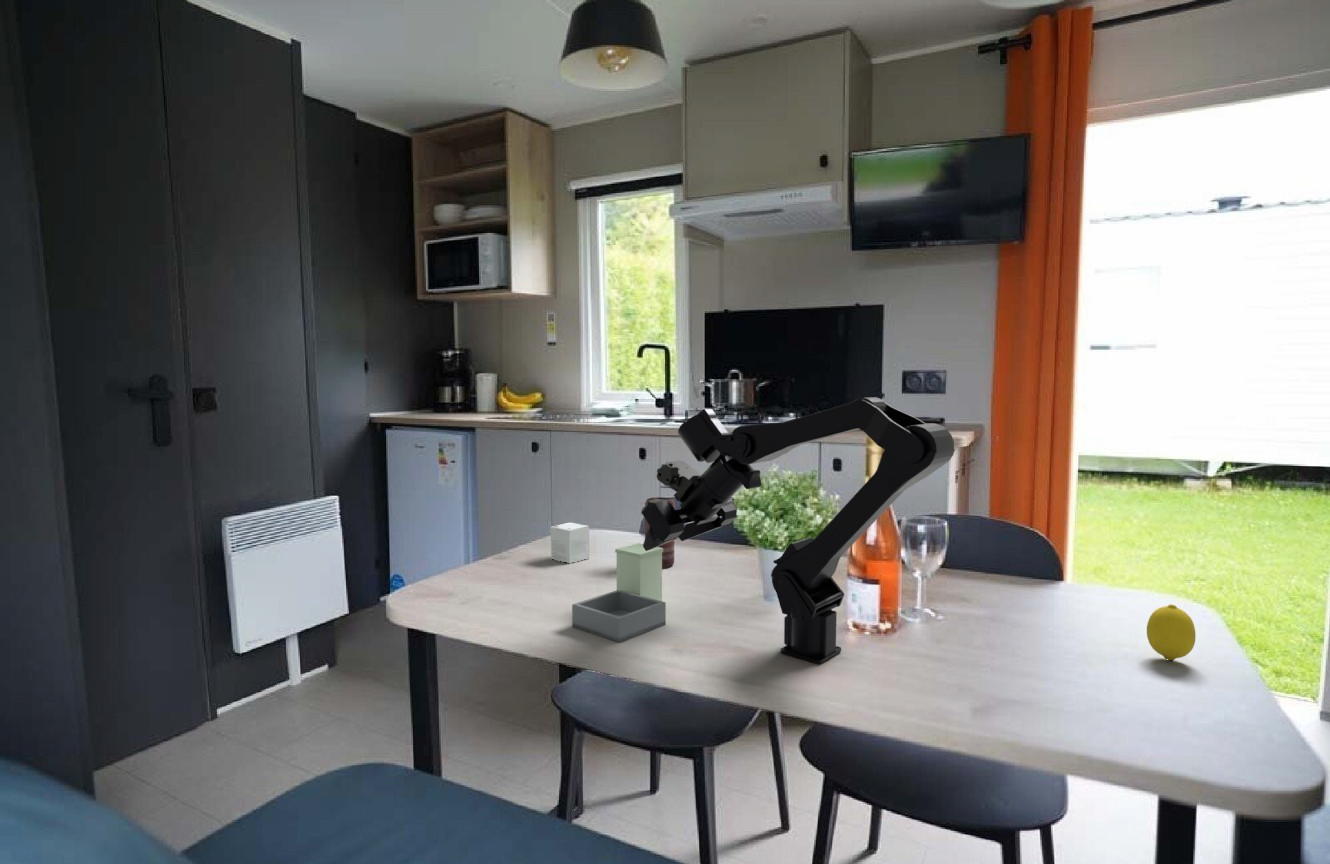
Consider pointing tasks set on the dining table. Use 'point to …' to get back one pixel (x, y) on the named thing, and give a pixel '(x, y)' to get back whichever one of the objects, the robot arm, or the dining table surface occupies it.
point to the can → (667, 547)
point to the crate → (618, 615)
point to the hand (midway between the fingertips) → (663, 543)
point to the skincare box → (570, 542)
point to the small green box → (640, 571)
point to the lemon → (1171, 632)
